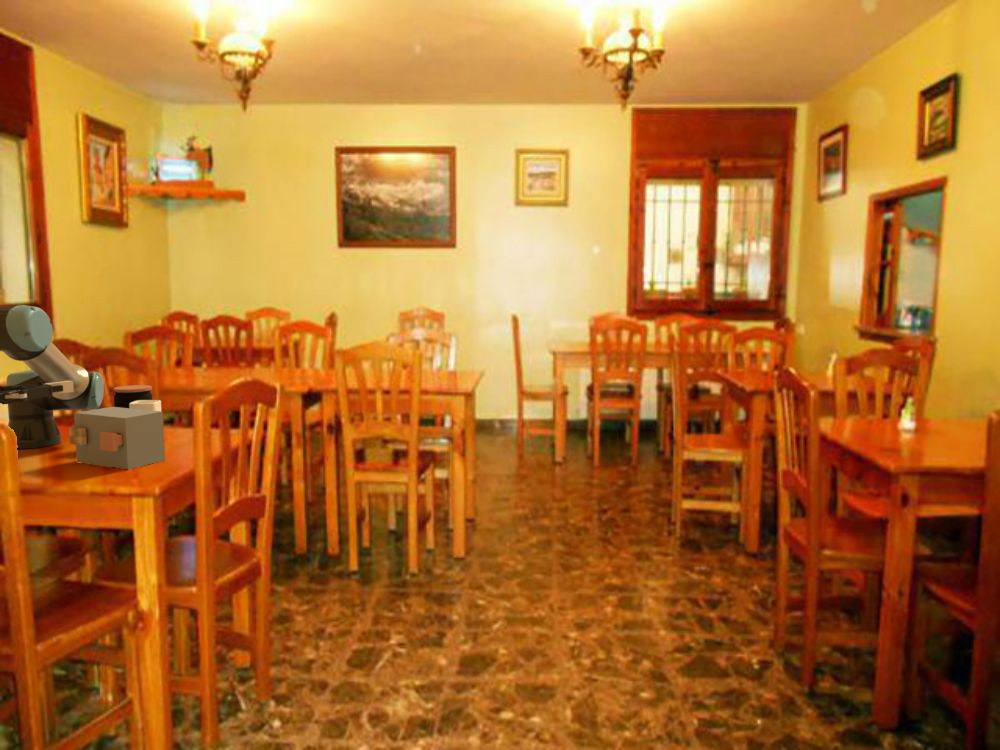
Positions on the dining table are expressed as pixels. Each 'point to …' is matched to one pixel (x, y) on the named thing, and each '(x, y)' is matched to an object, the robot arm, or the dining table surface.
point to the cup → (146, 405)
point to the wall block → (138, 437)
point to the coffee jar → (131, 394)
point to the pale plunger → (78, 436)
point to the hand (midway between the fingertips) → (71, 386)
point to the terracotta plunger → (110, 441)
